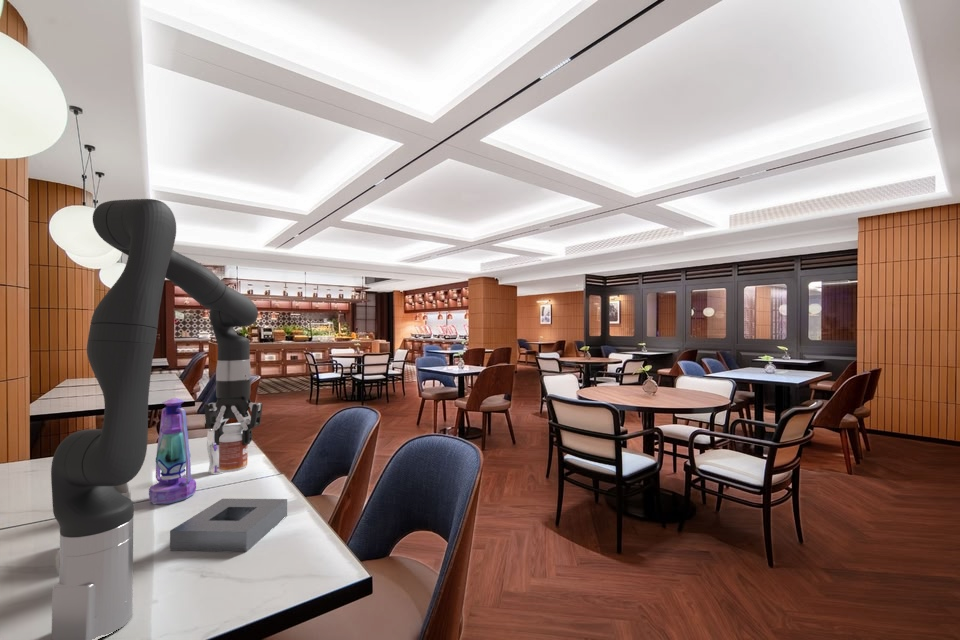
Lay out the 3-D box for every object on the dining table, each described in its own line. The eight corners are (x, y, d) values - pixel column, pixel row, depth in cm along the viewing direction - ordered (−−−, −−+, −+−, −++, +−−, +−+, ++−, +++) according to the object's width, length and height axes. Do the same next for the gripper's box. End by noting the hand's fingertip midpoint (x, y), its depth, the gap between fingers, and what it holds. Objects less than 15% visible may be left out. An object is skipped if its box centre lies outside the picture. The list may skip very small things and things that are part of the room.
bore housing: (246, 551, 93) (246, 531, 93) (169, 550, 94) (170, 530, 94) (287, 515, 111) (287, 499, 111) (222, 515, 112) (222, 498, 112)
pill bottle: (248, 469, 103) (248, 425, 103) (219, 474, 99) (219, 428, 99) (246, 463, 108) (246, 420, 108) (218, 467, 104) (218, 423, 105)
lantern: (136, 503, 120) (137, 400, 121) (176, 488, 132) (176, 394, 132) (169, 508, 117) (170, 402, 117) (207, 493, 128) (208, 396, 128)
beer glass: (208, 470, 149) (208, 428, 149) (230, 467, 152) (231, 426, 152) (204, 476, 142) (205, 432, 143) (228, 473, 145) (228, 430, 146)
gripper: (195, 379, 101) (194, 448, 100) (252, 379, 100) (252, 448, 100) (216, 376, 108) (216, 440, 108) (269, 376, 107) (269, 440, 107)
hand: (233, 444), depth 104 cm, fingers closed on pill bottle, 6 cm apart
